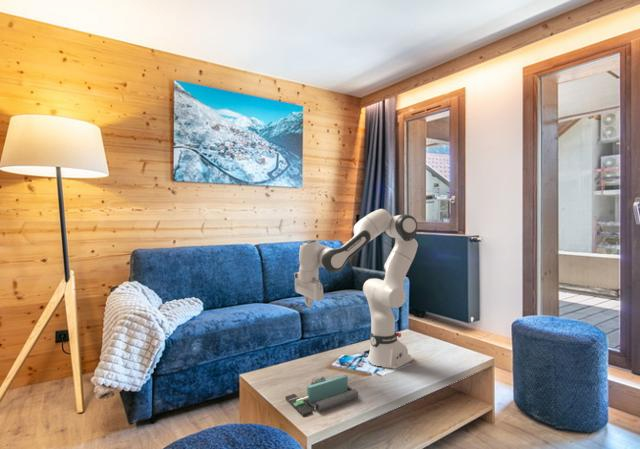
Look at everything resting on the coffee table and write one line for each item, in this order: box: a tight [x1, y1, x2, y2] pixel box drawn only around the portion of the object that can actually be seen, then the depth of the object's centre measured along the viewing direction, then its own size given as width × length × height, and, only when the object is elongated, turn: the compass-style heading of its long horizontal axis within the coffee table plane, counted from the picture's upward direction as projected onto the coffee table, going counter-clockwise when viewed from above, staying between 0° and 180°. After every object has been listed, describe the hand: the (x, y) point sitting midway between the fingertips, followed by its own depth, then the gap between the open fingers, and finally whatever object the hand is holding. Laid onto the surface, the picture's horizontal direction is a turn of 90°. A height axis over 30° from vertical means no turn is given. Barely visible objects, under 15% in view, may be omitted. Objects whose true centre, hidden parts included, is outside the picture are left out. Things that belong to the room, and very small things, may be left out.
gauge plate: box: [296, 374, 349, 404], centre depth 144 cm, size 23×2×6 cm, turn 122°
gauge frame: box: [285, 385, 359, 417], centre depth 143 cm, size 25×15×3 cm, turn 122°
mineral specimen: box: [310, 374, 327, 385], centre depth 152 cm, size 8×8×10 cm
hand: (308, 306), depth 168 cm, fingers closed
